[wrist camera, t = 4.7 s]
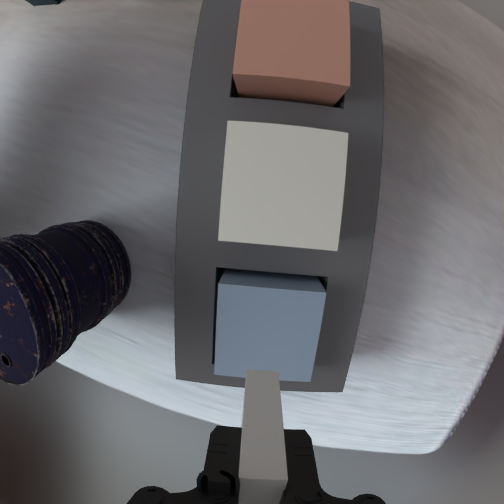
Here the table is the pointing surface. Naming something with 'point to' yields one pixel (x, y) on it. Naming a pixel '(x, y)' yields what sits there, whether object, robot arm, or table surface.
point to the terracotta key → (293, 50)
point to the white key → (282, 185)
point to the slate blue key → (268, 323)
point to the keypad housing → (270, 256)
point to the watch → (43, 2)
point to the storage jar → (55, 292)
